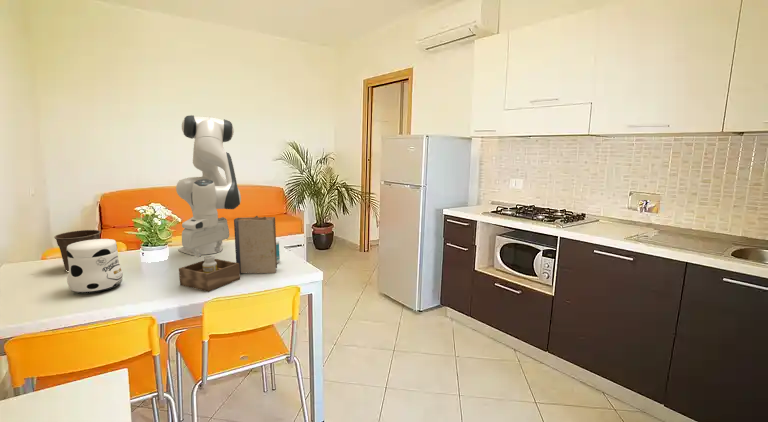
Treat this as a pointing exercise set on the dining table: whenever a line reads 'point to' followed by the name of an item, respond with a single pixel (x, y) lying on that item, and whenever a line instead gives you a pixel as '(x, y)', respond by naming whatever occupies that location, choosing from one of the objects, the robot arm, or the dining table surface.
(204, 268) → the supplement bottle
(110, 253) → the milk container
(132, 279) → the dining table surface
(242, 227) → the book
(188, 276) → the walled box
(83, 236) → the plant pot
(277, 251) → the pill bottle
